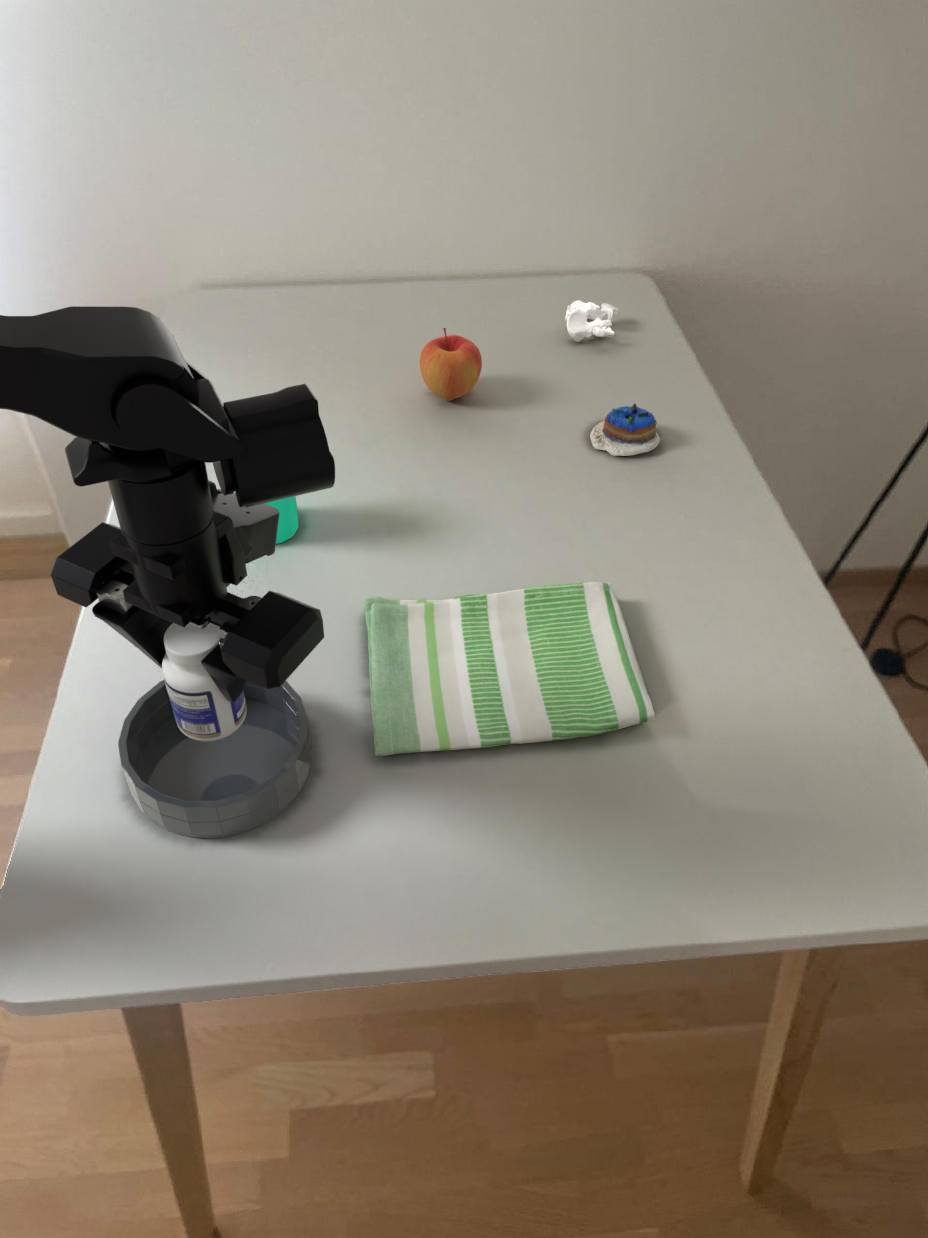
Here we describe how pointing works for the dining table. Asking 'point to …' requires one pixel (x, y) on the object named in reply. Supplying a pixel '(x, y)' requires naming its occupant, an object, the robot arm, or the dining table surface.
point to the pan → (216, 763)
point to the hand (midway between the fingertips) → (204, 683)
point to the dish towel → (501, 669)
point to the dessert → (626, 432)
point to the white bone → (582, 311)
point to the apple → (450, 366)
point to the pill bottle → (197, 685)
